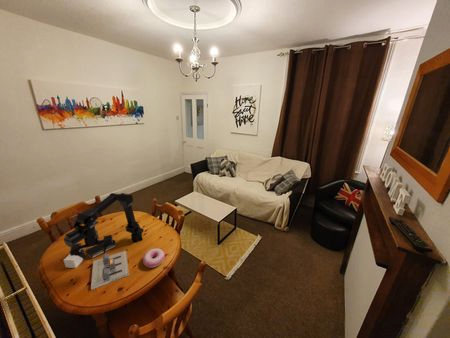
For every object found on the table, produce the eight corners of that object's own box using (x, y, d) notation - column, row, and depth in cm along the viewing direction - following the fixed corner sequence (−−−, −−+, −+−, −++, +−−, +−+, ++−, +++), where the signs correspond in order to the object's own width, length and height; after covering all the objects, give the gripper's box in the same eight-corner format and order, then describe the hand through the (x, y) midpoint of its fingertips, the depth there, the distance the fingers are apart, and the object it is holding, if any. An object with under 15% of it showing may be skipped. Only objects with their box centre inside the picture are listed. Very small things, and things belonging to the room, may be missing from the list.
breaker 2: (109, 271, 105) (108, 267, 103) (109, 277, 101) (108, 272, 100) (103, 274, 103) (102, 269, 102) (103, 279, 100) (101, 274, 99)
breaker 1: (109, 257, 114) (108, 253, 113) (109, 262, 111) (108, 257, 110) (103, 259, 113) (102, 254, 111) (103, 264, 109) (102, 259, 108)
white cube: (65, 267, 108) (63, 260, 106) (73, 259, 114) (71, 252, 112) (75, 268, 108) (73, 260, 106) (83, 259, 114) (81, 252, 112)
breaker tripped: (115, 262, 111) (114, 257, 110) (115, 267, 108) (114, 262, 106) (109, 264, 109) (108, 259, 108) (109, 269, 106) (108, 264, 105)
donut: (155, 272, 108) (154, 266, 106) (138, 265, 112) (137, 259, 110) (169, 256, 120) (168, 250, 118) (153, 250, 124) (152, 244, 122)
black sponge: (90, 260, 114) (89, 256, 113) (85, 253, 119) (84, 249, 118) (117, 246, 126) (116, 242, 125) (112, 240, 131) (111, 236, 130)
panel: (126, 252, 121) (126, 250, 121) (129, 275, 105) (128, 273, 105) (93, 262, 112) (93, 260, 112) (91, 289, 96) (90, 287, 96)
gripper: (110, 221, 108) (114, 242, 113) (70, 230, 99) (76, 252, 104) (110, 231, 99) (114, 254, 104) (66, 243, 90) (73, 267, 95)
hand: (95, 256), depth 102 cm, fingers open, 8 cm apart
